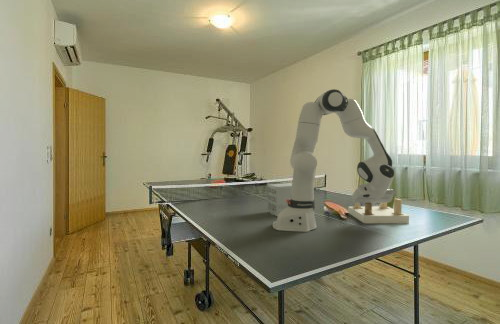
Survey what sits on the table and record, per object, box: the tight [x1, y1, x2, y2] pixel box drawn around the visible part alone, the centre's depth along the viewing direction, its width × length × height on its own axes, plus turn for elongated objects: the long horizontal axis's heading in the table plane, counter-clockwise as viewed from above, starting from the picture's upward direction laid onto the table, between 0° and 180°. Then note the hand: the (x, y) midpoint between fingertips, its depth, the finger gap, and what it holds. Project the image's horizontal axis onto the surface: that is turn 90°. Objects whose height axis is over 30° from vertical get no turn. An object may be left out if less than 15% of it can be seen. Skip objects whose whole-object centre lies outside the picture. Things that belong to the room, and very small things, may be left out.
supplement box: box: [267, 182, 292, 217], centre depth 172 cm, size 17×13×18 cm
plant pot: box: [387, 195, 397, 209], centre depth 179 cm, size 9×9×9 cm
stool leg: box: [364, 203, 373, 215], centre depth 152 cm, size 4×4×11 cm
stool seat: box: [347, 198, 410, 224], centre depth 160 cm, size 24×24×12 cm
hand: (367, 204), depth 152 cm, fingers open, 8 cm apart
